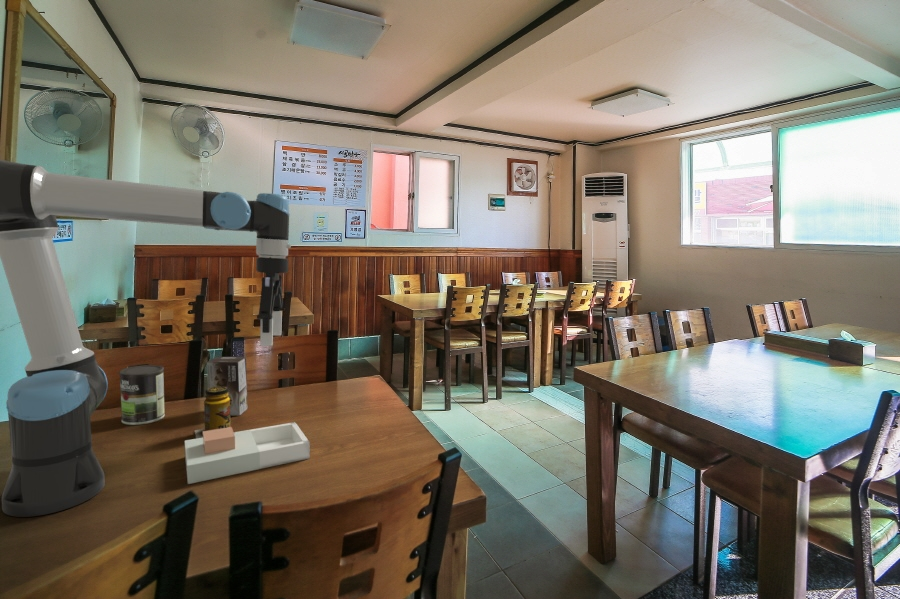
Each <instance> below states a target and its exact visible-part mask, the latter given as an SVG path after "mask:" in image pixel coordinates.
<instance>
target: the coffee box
mask: <svg viewBox="0 0 900 599" xmlns="http://www.w3.org/2000/svg"><path fill="white" fill-rule="evenodd" d="M206 374H207V376H206V377H207V379H206V380H207V389H209V388H212V387H218V386H222V387H227V388H228V397H229V398H230V416H241V415H242V414H243V413H244V412H246V411H247V410H248V386H247V385H248V384H247V381H248V380H247V379H248V378H247V377H248V376H247V357H246V356H214V357H213V358H211V359H210V360H208V361H207V362H206Z"/></svg>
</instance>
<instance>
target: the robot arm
mask: <svg viewBox="0 0 900 599" xmlns="http://www.w3.org/2000/svg"><path fill="white" fill-rule="evenodd" d="M290 215H291V214H290V206H289V199H288V197H287V196H286V195H283V194H279V193H278V194H277V193H268V192H267V193H264V192H260V193H258V194H257V195H256V199H255V200H247V199H246V198H245V197H244V196H242V195H240V194H239V193H237V192H233V191H223V192H218V191H210V190H209V191H208V190H207V191H206V190H202V189H193V188H183V187H176V186H168V185H167V186H166V185H158V184H150V183H143V182H142V183H141V182H133V181H123V180H122V181H121V180H115V179H105V178H95V177H90V176H79V175H78V176H77V175H71V174H62V173H54V172H53V173H51V172H49V171H48V170H46V168H44V167H43V166H41V165H34V164H25V163H20V162H14V161H8V160H5V159H1V158H0V260H1V264H2V267H3V270H4V274H5V276H6V280H7V283H8V285H9V286H8V287H9V289H10V293H11V296H12V298H13V303H14V306H15V308H16V312H17V316H18V318H19V319H18V320H19V321H20V325H21V328H22V331H23V335H24V337H25V340H26V341H25V342H26V344H27V348H28V350H29V354H30V356H31V359H30V360H29V361H28V363H27V364H26V365H25V367H24V371H25V374H26V376H25V377H23V378H21V379H18V380H17V381H15V382H14V383H13V384H11V385H10V387H9V388H8V391H7V399H6V402H5V403H6V405H5V406H6V411H7V415H8V429H9V438H10V440H9V441H10V451H11V453H10V454H11V465H12V466H11V470H10V472H9V475H8V478H7V480H6V482H5V486H4V489H3V491H2V495H1V510H2V512H3V513H4V514H5V515H7V516H11V517H16V518H17V517H18V518H30V517H39V516H45V515H50V514H53V513H57V512H61V511H64V510H68V509H71V508H73V507H76V506H78V505H81V504H82V503H83V504H84V503H85V502H87V501H89V500H90V499H92V498H94V497H95V496H97V495H98V494H99V493H100V492H101V491H102V490H103V489H104V487H105V485H106V484H105V483H106V482H105V481H106V479H105V473H104V472H105V471H104V470H103V468H102V466H101V464H100V462H99V460H98V458H97V456H96V454H95V453H94V451H93V445H92V428H91V418H92V415H93V414H94V412H95V411H96V410H97V408H98V407H99V406H100V405H101V403H102V402H103V401H104V399H105V397H106V394H107V391H108V379H107V375H106V373H105V371H104V370H103V369H102V368H101V366H99V364H98V361H97V359H96V358H97V357H96V356H95V352H94V351H93V350H91V349H89V348H86V347H85V346H84V344H83V341H82V337H81V334H80V331H79V328H78V325H77V324H78V323H77V320H76V317H75V314H74V310H73V309H74V308H73V306H72V303H71V299H70V296H69V293H68V289H67V286H66V281H65V279H64V275H63V271H62V267H61V264H60V262H59V257H58V254H57V251H56V247H55V244H54V240H53V237H54V236H55V234H56V233H57V232H58V231H59V229H60V228H59V225H58V221H57V217H56V216H61V217H62V216H63V217H76V218H77V217H78V218H89V219H101V220H113V221H114V220H115V221H124V222H127V221H128V222H137V223H151V224H152V223H153V224H165V225H179V226H190V227H200V228H201V227H203V228H204V229H209V230H214V231H231V232H232V231H234V232H235V231H236V232H250V233H253V232H254V233H256V239H255V241H256V244H255V246H256V247H255V254H256V256H258V257H257V258H256V259H255V261H256V262H255V263H256V268H255V271H256V272H258V273H260V274H261V273H264V274H265V276H264V277H262V278H261V290H260V299H259V300H260V301H259V309H258V314H257V315H256V319H257V320H260V324H259V325H260V336H259V337H260V338H259V339H260V342H259V343H260V344H259V346H260V347H261V346H262V347H263V346H264V347H273V345H274V344H273V343H274V341H273V340H274V338H273V337H274V336H282V332H283V331H282V328H283V327H282V325H283V324H282V322H283V320H282V319H283V317H282V316H283V312H284V311H285V310H286V308H285V306H284V299H283V286H282V278H283V276H282V274H287V273H288V272H289V259H288V258H286V257H288V256H289V249H291V247H292V246H291V245H292V244H290V243H289V233H290V230H289V229H290Z"/></svg>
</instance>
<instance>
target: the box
mask: <svg viewBox="0 0 900 599" xmlns="http://www.w3.org/2000/svg"><path fill="white" fill-rule="evenodd" d="M249 430H250V431H251V434H252V436H253V438H254V440H255V443H256V445H257V447H258V449H259V451H260V469H259V470H261V469H265V468H270V467H274V466H275V467H276V466H281V465H283V464H285V465H286V464H289V463H294V462H299V461H305V460H309V459H310V458H311V457H310V456H311V455H310V453H311V452H310V451H311V450H310V448H311V447H310V444H311V443H310V440H308V438H307V436H306V435H305V434H304V432H303V431H302V430H301V428H300V427H299V425H298V424H297V423H296V422H295V421H294V422H288V423H282V424H276V425H271V426H263V427H258V428H253V429H249Z"/></svg>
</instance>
